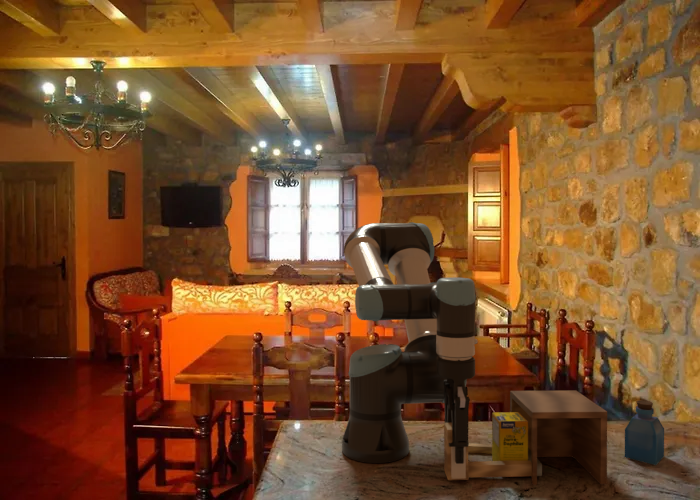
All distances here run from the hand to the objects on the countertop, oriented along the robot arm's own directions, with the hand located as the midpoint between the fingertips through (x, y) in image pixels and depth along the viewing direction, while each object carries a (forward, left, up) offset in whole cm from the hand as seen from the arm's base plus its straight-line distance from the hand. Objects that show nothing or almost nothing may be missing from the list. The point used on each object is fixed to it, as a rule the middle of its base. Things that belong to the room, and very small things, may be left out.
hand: (455, 472), depth 112 cm
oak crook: (+4, +7, -1) cm, 8 cm away
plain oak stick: (+1, +17, -2) cm, 17 cm away
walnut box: (+16, +15, -1) cm, 22 cm away
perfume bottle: (+32, +30, -2) cm, 44 cm away
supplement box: (+8, +10, -2) cm, 13 cm away
